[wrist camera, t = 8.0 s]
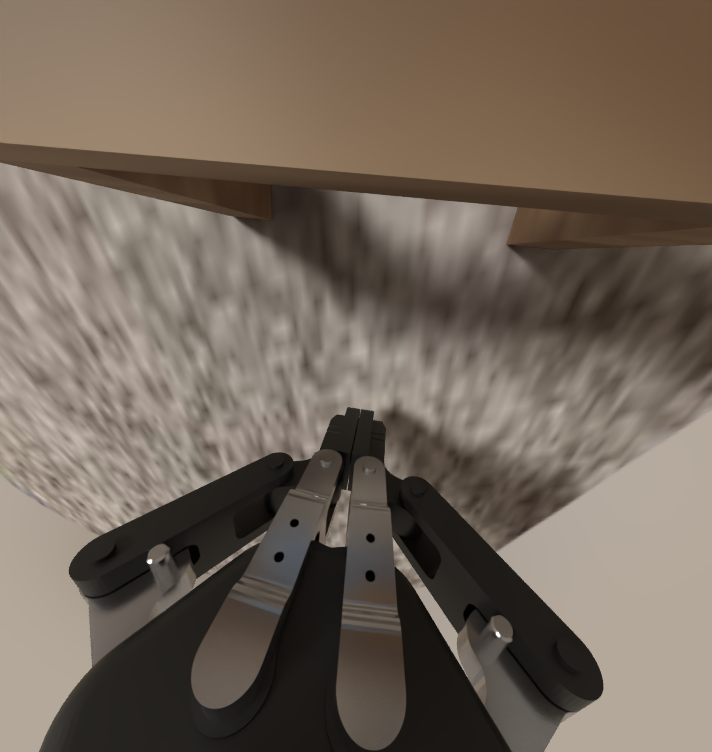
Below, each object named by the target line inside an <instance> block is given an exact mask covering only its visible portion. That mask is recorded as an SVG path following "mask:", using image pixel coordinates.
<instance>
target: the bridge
mask: <svg viewBox="0 0 712 752" xmlns="http://www.w3.org/2000/svg"><path fill="white" fill-rule="evenodd" d="M0 162H1V163H5V164H10V165H14V166H18V167H23V168H27V169H31V170H35V171H40V172H44V173H48V174H53V175H57V176H61V177H66V178H70V179H74V180H78V181H83V182H87V183H91V184H96V185H100V186H104V187H109V188H113V189H117V190H121V191H126V192H130V193H134V194H139V195H143V196H147V197H152V198H156V199H160V200H164V201H169V202H173V203H177V204H182V205H186V206H190V207H195V208H199V209H203V210H207V211H212V212H216V213H220V214H225V215H229V216H234V217H244V218H254V219H263V220H272V213H271V189H270V184H271V185H282V186H293V187H304V188H315V189H326V190H337V191H348V192H359V193H370V194H381V195H391V196H402V197H413V198H424V199H435V200H446V201H457V202H468V203H479V204H490V205H501V206H512V207H518V209H517V213H516V216H515V219H514V222H513V225H512V228H511V231H510V235H509V238H508V241H507V245H517V246H526V247H536V248H546V249H577V248H611V247H644V246H678V245H712V0H0Z"/></svg>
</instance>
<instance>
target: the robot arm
mask: <svg viewBox="0 0 712 752" xmlns="http://www.w3.org/2000/svg"><path fill="white" fill-rule="evenodd" d="M373 416H374V411H369V410H363V409H361V413H360V409H357V408H350V407H348V408H347V411H346V414H345V416H344V415H336V416H335V417H333V418H332V419H331V421H330V424H329V427H328V429H327V432H326V434H325V437H324V440H323V442H322V445H321V448H320V450H319V451H317V452H316V453H315V454H314V455H313V456H312V458H311V459H308V460H303V461H293V459H292V458H291V456H290V455H288V454H286V453H280V452H279V453H272V454H270V455H268V456H265V457H263V458H261V459H259V460H257V461H255V462H253V463H251V464H249V465H247V466H245V467H243V468H240V469H238V470H236V471H234V472H232V473H230V474H228V475H226V476H224V477H222V478H220V479H218V480H215V481H213V482H211V483H209V484H207V485H205V486H203V487H201V488H199V489H197V490H195V491H193V492H191V493H188V494H186V495H184V496H182V497H180V498H178V499H176V500H174V501H172V502H170V503H168V504H166V505H163V506H161V507H159V508H157V509H155V510H153V511H151V512H149V513H147V514H145V515H143V516H141V517H138V518H136V519H134V520H132V521H130V522H128V523H126V524H124V525H122V526H120V527H118V528H116V529H114V530H111V531H109V532H107V533H105V534H103V535H101V536H99V537H97V538H96V539H94V540H92V541H91V542H90V543H88V544H87V545H86V546H85V547H83V548H82V549H81V550H80V551H79V552H78V553H77V555H76V556H75V557H74V559H73V560H72V562H71V564H70V567H69V575H70V577H71V578H72V580H73V581H74V582H75V584H76V585H77V586H78V588H79V592H80V594H81V596H82V597H83V598H84V600H85V601H86V602H87V604H88V605H89V619H90V638H91V656H92V668H91V669H90V670H89V672H88V673H87V674H86V675H85V676H84V677H83V678H82V679H81V681H80V682H79V683H78V684H77V686H76V687H75V688H74V689H73V691H72V692H71V693H70V695H69V697H68V698H67V699H66V701H65V702H64V703H63V705H62V707H61V709H60V710H59V712H58V713H57V715H56V717H55V718H54V720H53V722H52V724H51V726H50V728H49V730H48V732H47V734H46V736H45V738H44V741H43V743H42V746H41V748H40V751H39V752H544V750H545V749H546V747H547V745H548V743H549V742H550V740H551V738H552V736H553V735H554V733H555V731H556V729H557V727H558V726H559V724H560V723H561V722H563V721H564V720H566V719H567V718H569V717H571V716H572V715H574V714H575V713H577V712H578V711H580V710H581V709H583V708H585V707H586V706H587V705H589V704H590V703H592V702H594V701H595V700H597V699H598V698H599V697H600V696H601V695H602V692H603V679H602V675H601V672H600V669H599V667H598V665H597V662H596V661H595V659H594V657H593V655H592V654H591V652H590V651H589V649H588V648H587V647H586V646H585V644H584V643H583V642H582V641H581V640H580V639H579V638H578V637H577V636H576V635H575V634H574V632H573V631H572V630H571V629H570V628H569V627H568V626H567V625H566V624H565V623H564V622H563V621H562V620H561V619H560V618H559V617H558V616H557V615H556V614H555V613H554V612H553V611H552V610H551V609H550V608H549V607H548V606H547V605H546V604H545V602H543V600H542V599H541V598H540V597H539V596H538V595H537V594H536V593H535V592H534V591H533V590H532V589H531V588H530V587H529V586H528V585H527V584H526V583H525V582H524V581H523V580H522V579H521V578H520V577H519V576H518V575H517V574H516V573H515V571H513V570H512V568H511V567H509V565H508V564H507V563H506V562H505V561H504V560H503V559H502V558H501V557H500V556H499V555H498V554H497V553H496V552H495V551H494V550H493V549H492V548H491V547H490V546H489V545H488V544H487V542H486V541H485V540H484V539H483V538H482V537H481V536H480V535H479V534H478V533H477V532H476V531H475V530H474V529H473V528H472V527H471V526H470V525H469V524H468V523H467V522H466V521H465V520H464V519H463V518H462V517H461V516H460V515H459V514H458V513H457V511H456V510H455V509H454V508H453V507H452V506H451V505H450V504H449V503H448V502H447V501H446V500H445V499H444V498H443V497H442V496H441V495H440V494H439V493H438V492H437V491H436V490H435V489H434V488H433V487H432V486H431V485H430V484H429V483H428V482H427V481H426V480H424V479H422V478H420V477H415V476H411V477H407V478H405V479H404V480H401V479H399V478H397V477H395V476H393V475H392V474H391V473H390V472H389V471H388V470H387V469H386V467H385V465H384V453H385V432H386V428H385V426H384V424H383V422H381V421H375V420H373ZM359 417H360V418H359ZM349 474H350V475H349ZM348 479H349V483H348ZM347 484H348V490H350V491H351V494H350V502H349V511H348V522H347V532H346V543H345V547H335V548H331V547H328V546H326V541H327V537H328V534H329V531H330V528H331V525H332V521H333V518H334V515H335V512H336V509H337V505H338V500H339V498H340V495H341V490H342V489H344V490H346V489H347ZM266 531H267V532H266ZM264 532H266V534H265V536H264V538H263V539H262V541H261V543H259V544H256V545H254V546H252V547H251V548H249V549H247V550H246V551H244V552H243V553H242V554H240V555H239V556H238V557H236V558H235V559H233V560H232V561H231V562H229V563H228V564H227V565H225V566H224V567H223V568H221V569H220V570H219V571H217V572H216V573H215V574H213V575H212V576H210V577H209V578H208V579H206V580H205V581H204V582H202V583H201V584H200V585H198V586H197V587H196V588H194V589H193V590H192V588H193V586H194V584H195V581H196V579H197V578H198V577H200V576H201V575H203V574H204V573H206V572H207V571H209V570H210V569H211V568H213V567H214V566H216V565H217V564H219V563H220V562H222V561H223V560H225V559H226V558H228V557H229V556H230V555H232V554H233V553H235V552H236V551H238V550H239V549H241V548H242V547H244V546H245V545H247V544H248V543H249V542H251V541H252V540H254V539H255V538H257V537H258V536H260V535H261V534H263V533H264ZM392 537H393V538H394V540H395V541H396V543H397V544H398V546H399V547H400V549H401V550H402V552H403V553H404V555H405V556H406V558H407V559H408V561H409V562H410V564H411V565H412V567H413V568H414V569H415V571H416V572H417V574H418V575H419V577H420V578H421V580H422V581H423V583H424V584H425V586H426V587H427V589H428V590H429V592H430V593H431V595H432V596H433V597H434V599H435V601H436V602H437V603H438V605H439V606H440V608H441V609H442V611H443V612H444V614H445V615H446V617H447V618H448V620H449V621H450V623H451V624H452V626H453V627H454V628H455V630H456V631H457V633H458V638H457V650H458V655H459V658H460V661H461V664H462V666H463V668H464V670H465V672H466V674H467V675H468V677H467V676H466V674H465V672H464V671H463V669H462V667H461V666H460V664H459V662H458V661H457V659H456V657H455V656H454V654H453V653H452V651H451V649H450V647H449V646H448V644H447V642H446V641H445V639H444V638H443V636H442V634H441V633H440V631H439V629H438V628H437V626H436V624H435V623H434V621H433V620H432V618H431V616H430V614H429V613H428V611H427V609H426V608H425V606H424V605H423V603H422V601H421V599H420V598H419V596H418V594H417V593H416V591H415V589H414V588H413V586H412V585H411V583H410V582H409V581H408V579H407V578H406V577H405V576H404V575H403V574H402V573H401V572H400V571H399V570H398V569H397V568H396V567H394V553H393V539H392ZM191 590H192V591H191ZM468 678H469V679H468ZM469 680H470V681H469Z"/></svg>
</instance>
